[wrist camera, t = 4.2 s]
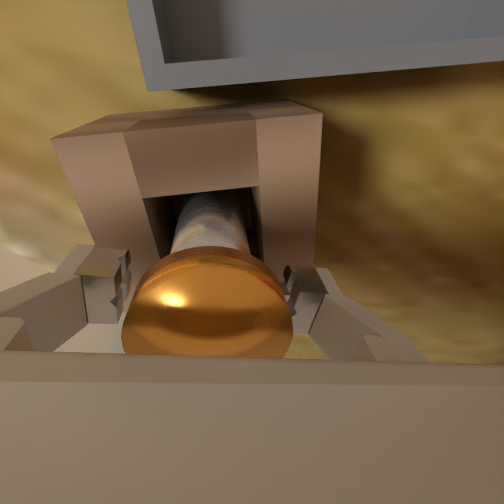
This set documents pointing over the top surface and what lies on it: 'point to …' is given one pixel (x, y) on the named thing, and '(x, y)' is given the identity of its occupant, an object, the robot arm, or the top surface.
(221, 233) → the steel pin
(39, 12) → the top surface
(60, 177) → the top surface
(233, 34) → the tray
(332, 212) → the top surface
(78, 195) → the hitch block
